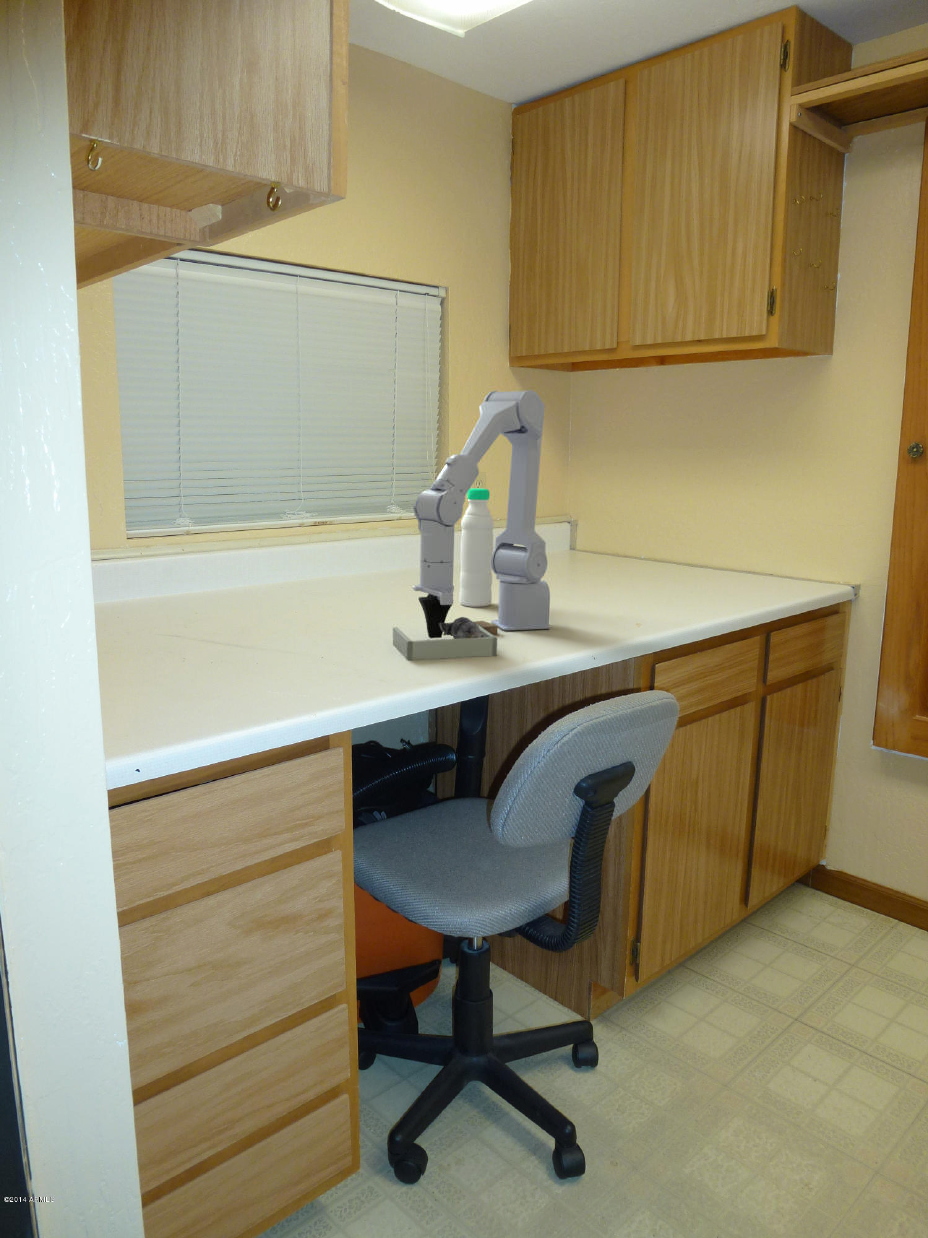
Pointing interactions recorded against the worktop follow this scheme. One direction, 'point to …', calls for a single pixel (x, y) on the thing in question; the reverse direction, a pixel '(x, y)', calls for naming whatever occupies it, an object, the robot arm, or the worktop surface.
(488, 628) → the walnut tile
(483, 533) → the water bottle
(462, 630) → the seashell
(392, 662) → the worktop surface
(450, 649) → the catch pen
